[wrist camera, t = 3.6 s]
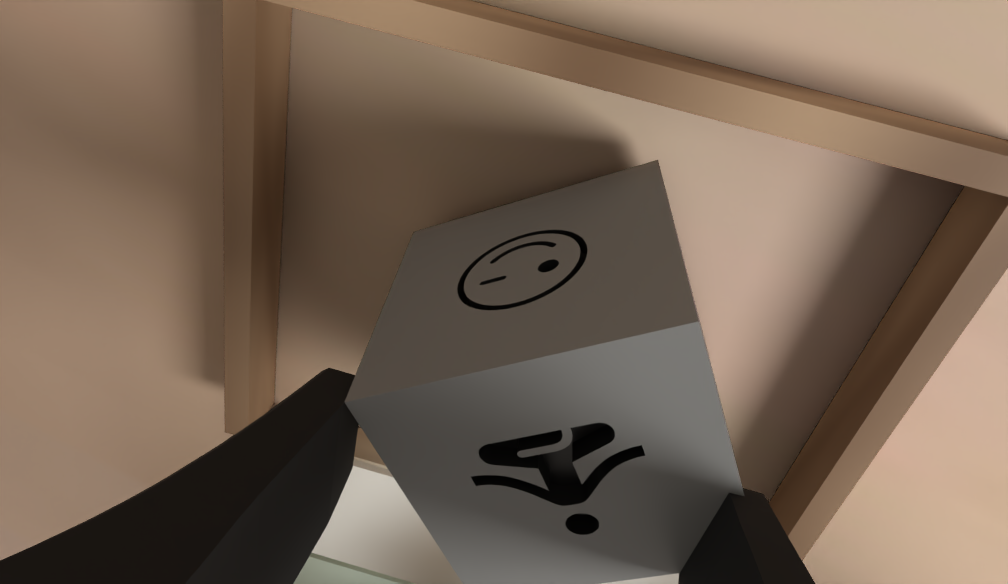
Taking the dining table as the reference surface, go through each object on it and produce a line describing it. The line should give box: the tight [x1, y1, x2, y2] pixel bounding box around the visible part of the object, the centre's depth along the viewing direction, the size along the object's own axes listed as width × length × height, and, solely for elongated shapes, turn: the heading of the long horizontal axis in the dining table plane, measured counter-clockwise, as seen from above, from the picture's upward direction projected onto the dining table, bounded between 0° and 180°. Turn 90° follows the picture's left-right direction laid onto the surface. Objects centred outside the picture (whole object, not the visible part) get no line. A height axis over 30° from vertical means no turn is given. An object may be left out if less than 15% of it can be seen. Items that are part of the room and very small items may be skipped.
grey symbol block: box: [345, 160, 744, 584], centre depth 12 cm, size 5×5×5 cm
